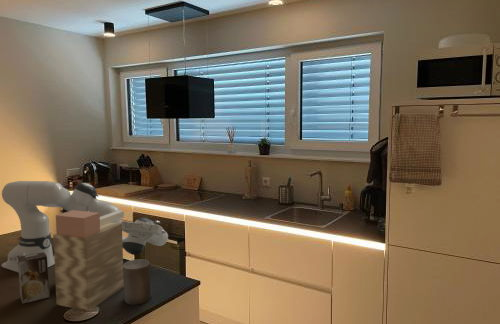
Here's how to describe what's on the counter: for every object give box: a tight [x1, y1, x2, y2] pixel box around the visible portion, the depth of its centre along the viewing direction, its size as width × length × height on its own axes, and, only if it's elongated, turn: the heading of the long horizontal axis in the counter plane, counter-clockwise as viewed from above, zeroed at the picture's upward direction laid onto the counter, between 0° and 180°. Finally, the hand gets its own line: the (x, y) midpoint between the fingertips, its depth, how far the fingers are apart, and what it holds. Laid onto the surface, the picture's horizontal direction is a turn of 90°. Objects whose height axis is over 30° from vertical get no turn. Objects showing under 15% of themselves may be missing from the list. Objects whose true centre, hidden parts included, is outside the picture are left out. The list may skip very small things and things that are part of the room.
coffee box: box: [18, 252, 51, 305], centre depth 140 cm, size 9×6×16 cm
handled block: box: [55, 210, 125, 238], centre depth 144 cm, size 12×28×7 cm, turn 163°
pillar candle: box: [123, 258, 152, 306], centre depth 140 cm, size 10×10×15 cm
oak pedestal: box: [52, 223, 124, 311], centre depth 142 cm, size 14×20×26 cm
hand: (132, 223), depth 167 cm, fingers open, 8 cm apart
